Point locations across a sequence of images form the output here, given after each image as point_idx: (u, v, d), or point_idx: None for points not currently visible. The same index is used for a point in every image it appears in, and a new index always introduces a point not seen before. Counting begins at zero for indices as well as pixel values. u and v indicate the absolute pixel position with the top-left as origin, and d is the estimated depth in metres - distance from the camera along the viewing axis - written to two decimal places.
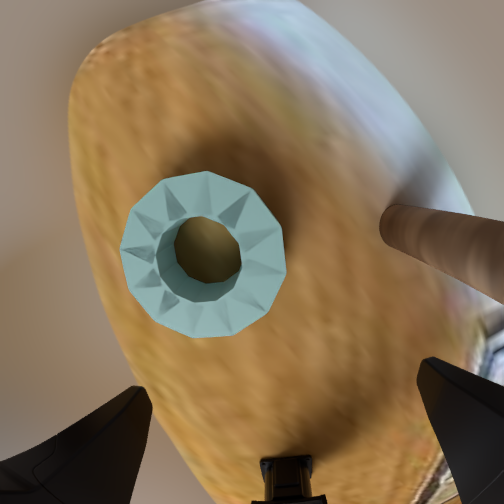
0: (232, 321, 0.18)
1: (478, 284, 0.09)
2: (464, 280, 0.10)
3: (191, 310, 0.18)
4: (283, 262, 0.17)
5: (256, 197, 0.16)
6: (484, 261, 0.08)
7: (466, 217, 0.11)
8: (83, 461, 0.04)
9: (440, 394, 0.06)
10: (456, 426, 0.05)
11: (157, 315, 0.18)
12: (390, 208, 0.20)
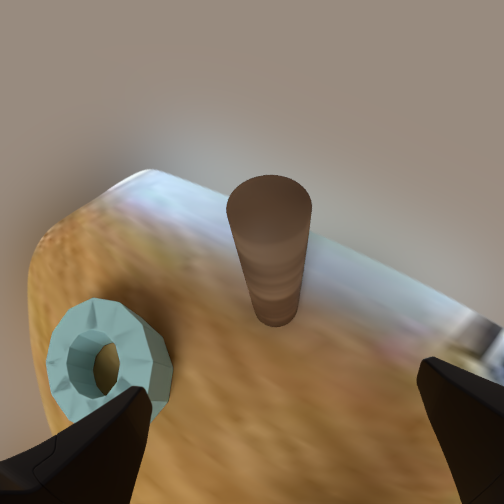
0: None
1: (247, 251, 0.12)
2: (257, 268, 0.13)
3: (91, 406, 0.15)
4: (148, 352, 0.17)
5: (123, 307, 0.19)
6: None
7: None
8: (84, 462, 0.04)
9: (440, 394, 0.06)
10: (456, 426, 0.05)
11: (70, 414, 0.15)
12: None
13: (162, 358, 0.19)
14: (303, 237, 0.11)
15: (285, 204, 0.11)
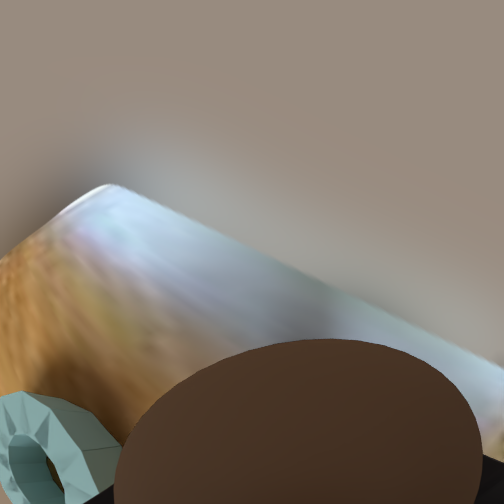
0: None
1: None
2: None
3: None
4: (95, 489, 0.07)
5: (55, 418, 0.09)
6: None
7: None
8: None
9: None
10: None
11: None
12: None
13: None
14: None
15: None
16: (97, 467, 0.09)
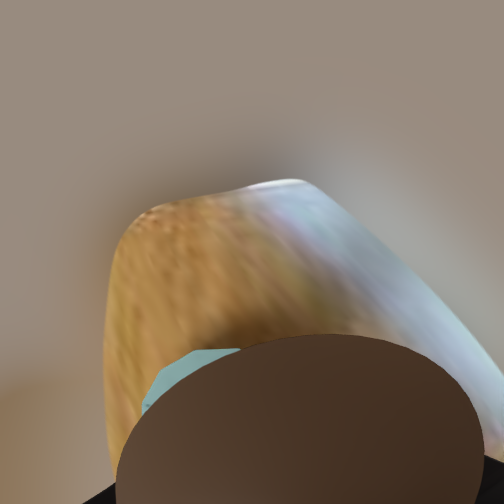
0: None
1: None
2: None
3: None
4: None
5: None
6: None
7: None
8: None
9: None
10: None
11: None
12: None
13: None
14: None
15: None
16: None
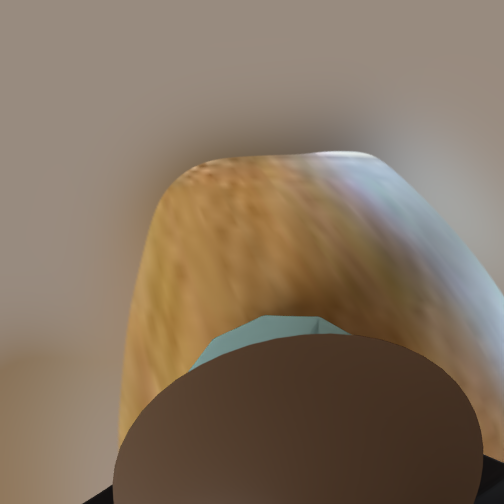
0: None
1: None
2: None
3: None
4: None
5: None
6: None
7: None
8: None
9: None
10: None
11: None
12: None
13: None
14: None
15: None
16: None
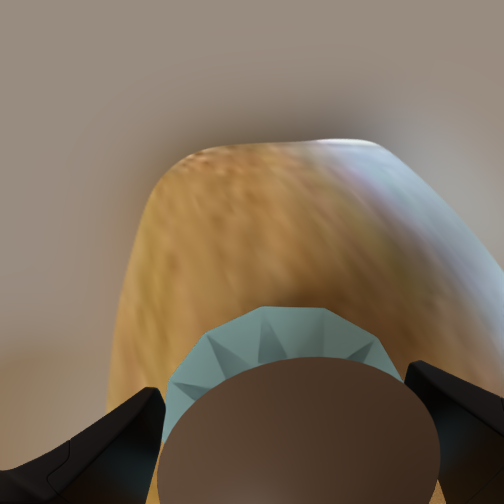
0: None
1: None
2: None
3: None
4: None
5: (381, 348, 0.11)
6: None
7: None
8: (99, 467, 0.04)
9: (426, 399, 0.06)
10: (443, 432, 0.05)
11: None
12: None
13: None
14: None
15: (364, 488, 0.02)
16: None
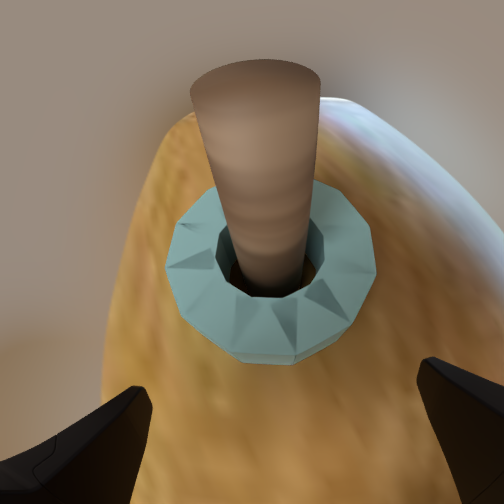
0: (299, 331, 0.12)
1: (220, 145, 0.07)
2: (238, 182, 0.08)
3: (243, 307, 0.13)
4: (373, 260, 0.13)
5: (343, 198, 0.15)
6: (195, 113, 0.07)
7: None
8: (84, 462, 0.04)
9: (440, 394, 0.06)
10: (456, 426, 0.05)
11: (188, 309, 0.13)
12: None
13: None
14: (310, 123, 0.07)
15: (280, 78, 0.06)
16: None
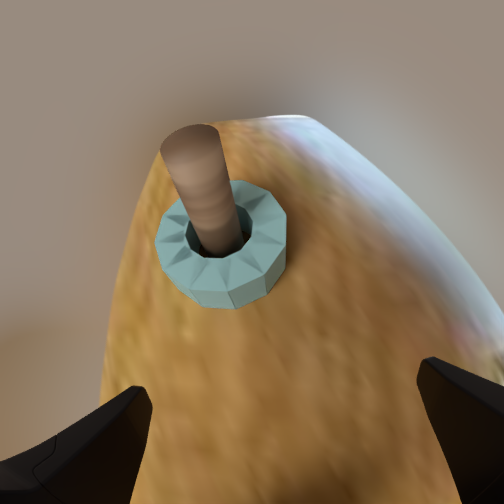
0: (230, 277, 0.20)
1: (174, 174, 0.15)
2: (184, 191, 0.16)
3: (198, 264, 0.21)
4: (284, 236, 0.21)
5: (271, 196, 0.24)
6: None
7: None
8: (83, 461, 0.04)
9: (440, 394, 0.06)
10: (456, 426, 0.05)
11: (167, 265, 0.21)
12: None
13: None
14: (212, 161, 0.15)
15: (200, 140, 0.15)
16: None
